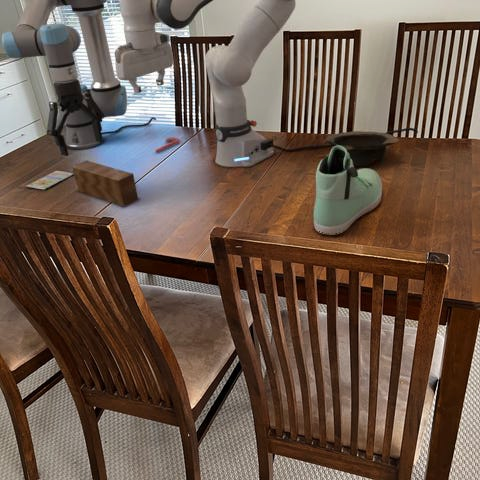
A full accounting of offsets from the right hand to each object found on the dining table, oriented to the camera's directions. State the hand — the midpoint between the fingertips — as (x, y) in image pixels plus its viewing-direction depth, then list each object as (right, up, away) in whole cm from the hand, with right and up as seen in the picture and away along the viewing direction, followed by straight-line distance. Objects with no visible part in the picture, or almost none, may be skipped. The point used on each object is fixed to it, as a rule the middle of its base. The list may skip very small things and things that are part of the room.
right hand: (149, 88), depth 146 cm
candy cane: (-2, -8, +48) cm, 49 cm away
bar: (-16, -31, +13) cm, 37 cm away
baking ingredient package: (-40, -25, +27) cm, 54 cm away
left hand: (-23, -16, +9) cm, 30 cm away
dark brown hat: (+70, -17, +25) cm, 76 cm away
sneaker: (+59, -37, -7) cm, 70 cm away
